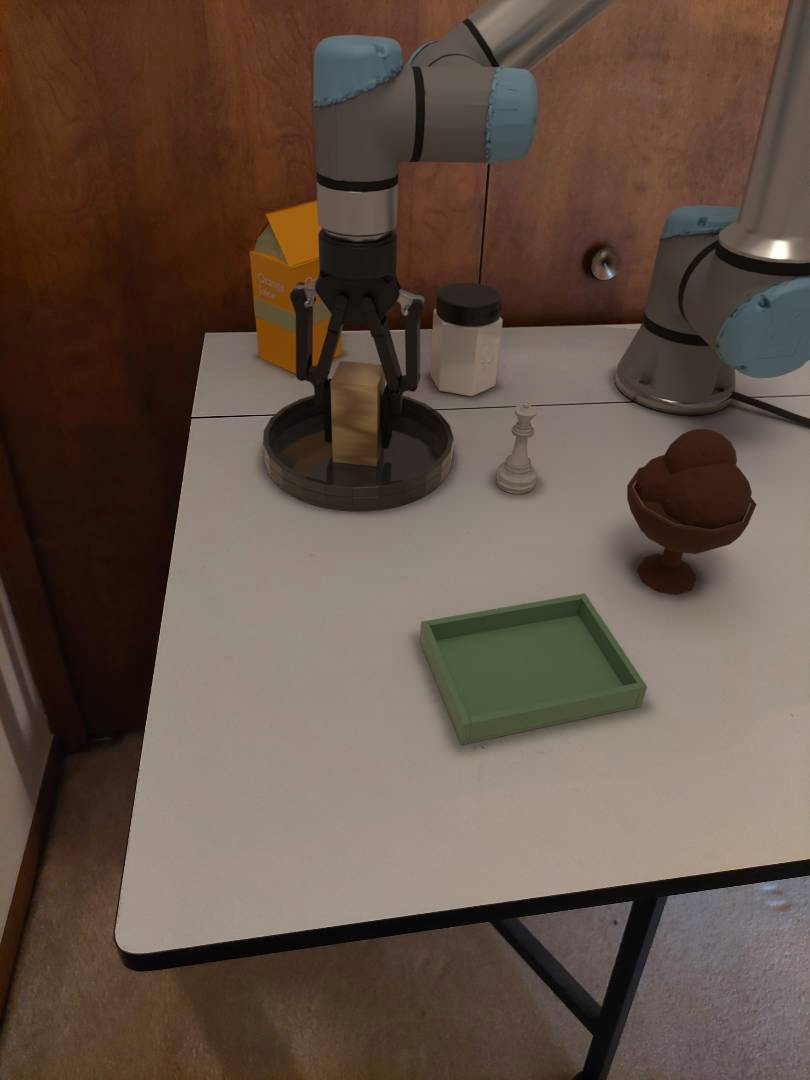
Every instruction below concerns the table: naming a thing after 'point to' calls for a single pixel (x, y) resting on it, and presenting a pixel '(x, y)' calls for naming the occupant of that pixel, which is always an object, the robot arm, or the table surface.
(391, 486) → the pan
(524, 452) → the chess piece
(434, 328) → the jar
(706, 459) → the ice cream bowl
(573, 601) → the tray
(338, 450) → the block
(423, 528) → the table surface
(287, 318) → the orange juice
